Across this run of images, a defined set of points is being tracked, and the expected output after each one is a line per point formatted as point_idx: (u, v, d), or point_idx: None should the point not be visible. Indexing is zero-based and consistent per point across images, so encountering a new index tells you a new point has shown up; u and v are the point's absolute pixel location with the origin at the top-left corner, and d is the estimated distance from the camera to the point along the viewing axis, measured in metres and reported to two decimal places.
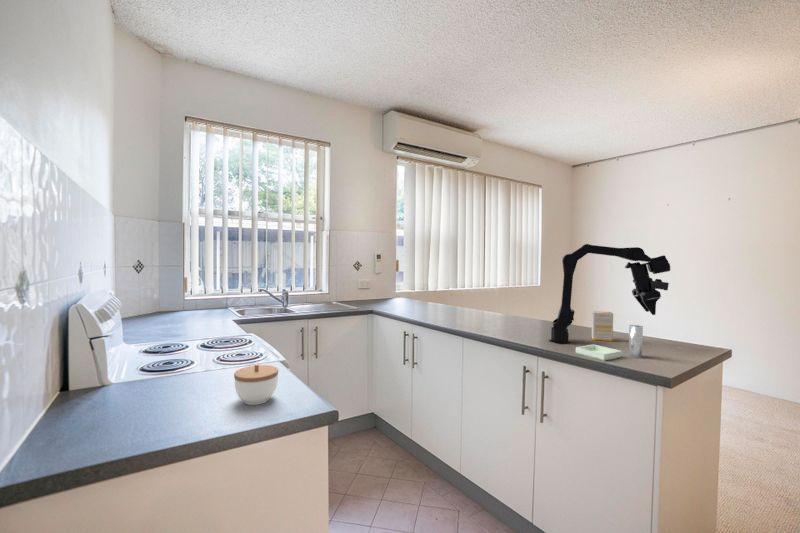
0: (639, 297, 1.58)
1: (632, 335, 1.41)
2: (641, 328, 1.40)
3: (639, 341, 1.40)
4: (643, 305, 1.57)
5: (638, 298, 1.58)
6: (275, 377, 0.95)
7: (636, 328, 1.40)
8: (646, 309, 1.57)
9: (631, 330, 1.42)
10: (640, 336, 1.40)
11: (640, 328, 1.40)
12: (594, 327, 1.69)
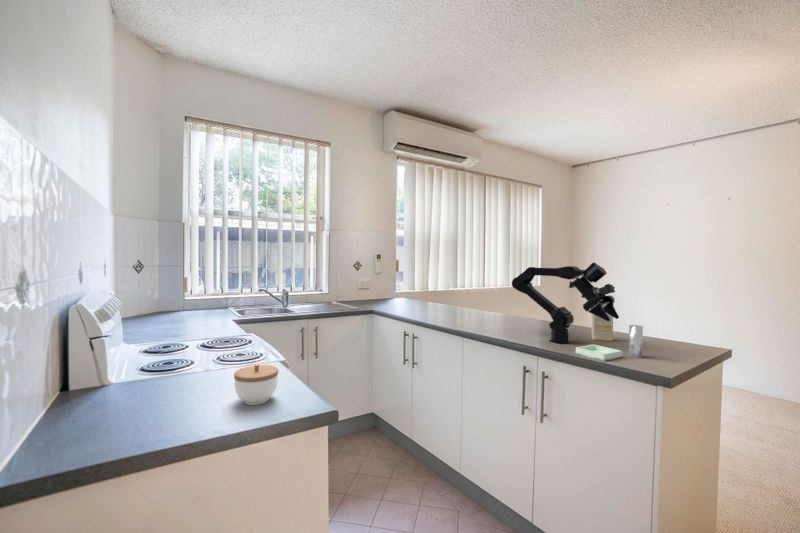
0: (604, 308, 1.56)
1: (632, 335, 1.41)
2: (641, 328, 1.40)
3: (639, 341, 1.40)
4: (611, 314, 1.53)
5: (604, 309, 1.56)
6: (275, 377, 0.95)
7: (636, 328, 1.40)
8: (615, 316, 1.52)
9: (631, 330, 1.42)
10: (640, 336, 1.40)
11: (640, 328, 1.40)
12: (594, 327, 1.69)
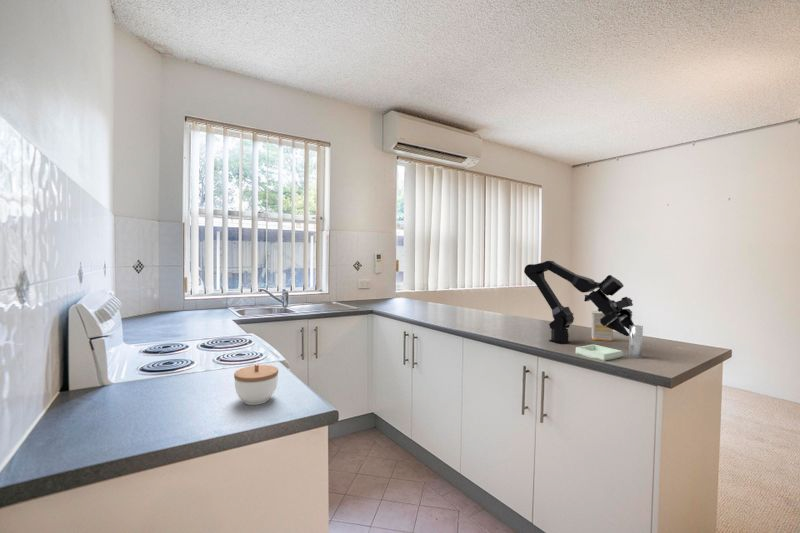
0: (621, 321, 1.50)
1: (632, 335, 1.41)
2: (641, 328, 1.40)
3: (639, 341, 1.40)
4: None
5: (621, 323, 1.50)
6: (275, 377, 0.95)
7: (636, 328, 1.40)
8: None
9: (631, 330, 1.42)
10: (640, 336, 1.40)
11: (640, 328, 1.40)
12: (594, 327, 1.69)
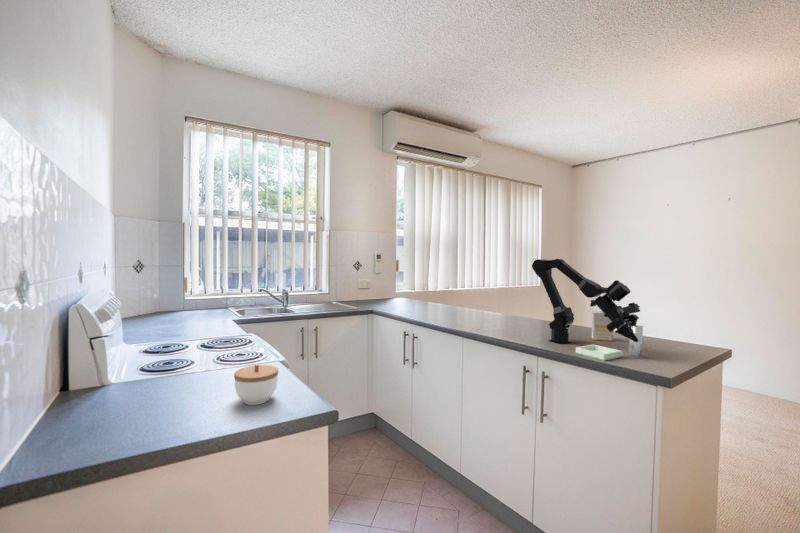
0: None
1: None
2: (641, 328, 1.40)
3: (639, 341, 1.40)
4: None
5: None
6: (275, 377, 0.95)
7: (636, 328, 1.40)
8: None
9: None
10: (640, 336, 1.40)
11: (640, 328, 1.40)
12: (594, 327, 1.69)
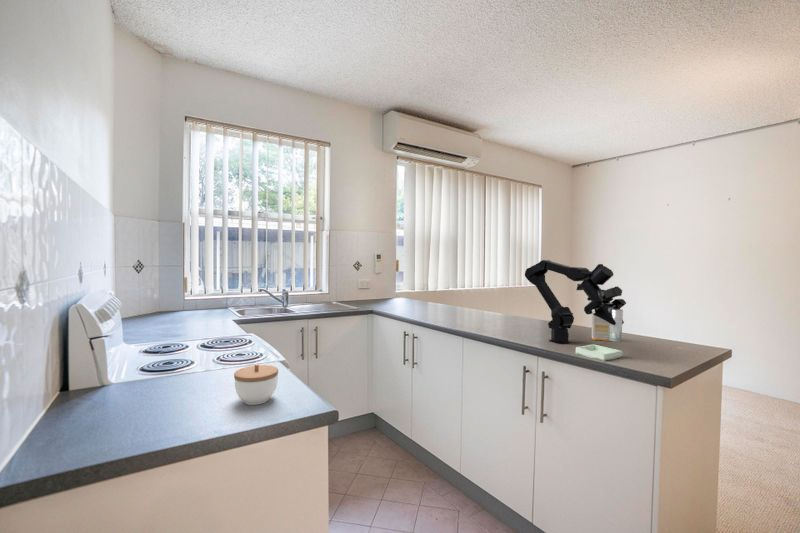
0: None
1: None
2: (620, 311, 1.40)
3: (618, 324, 1.40)
4: None
5: (609, 313, 1.47)
6: (275, 377, 0.95)
7: (614, 311, 1.40)
8: None
9: (610, 313, 1.42)
10: (619, 319, 1.40)
11: (619, 311, 1.39)
12: (594, 327, 1.69)
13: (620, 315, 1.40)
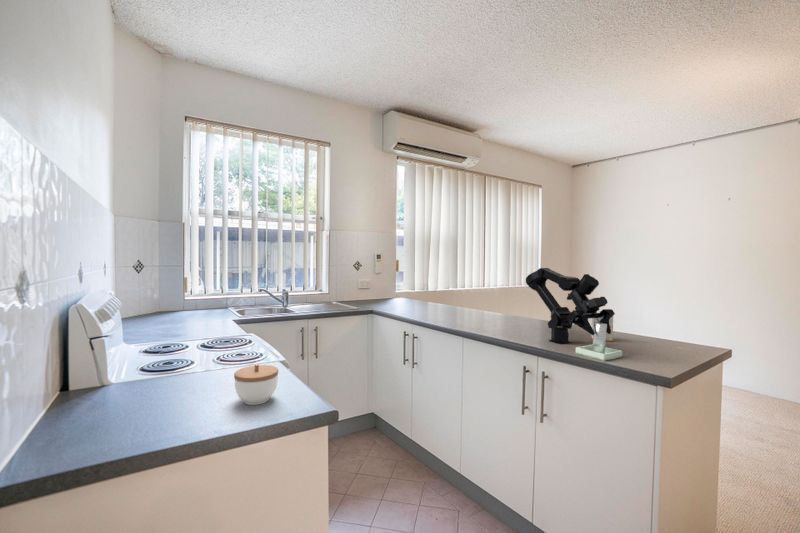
0: (600, 322, 1.48)
1: (594, 332, 1.43)
2: (603, 325, 1.41)
3: (600, 338, 1.41)
4: None
5: None
6: (275, 377, 0.95)
7: (597, 325, 1.42)
8: (607, 331, 1.44)
9: (594, 327, 1.43)
10: (601, 333, 1.41)
11: (601, 325, 1.41)
12: None
13: (603, 329, 1.41)
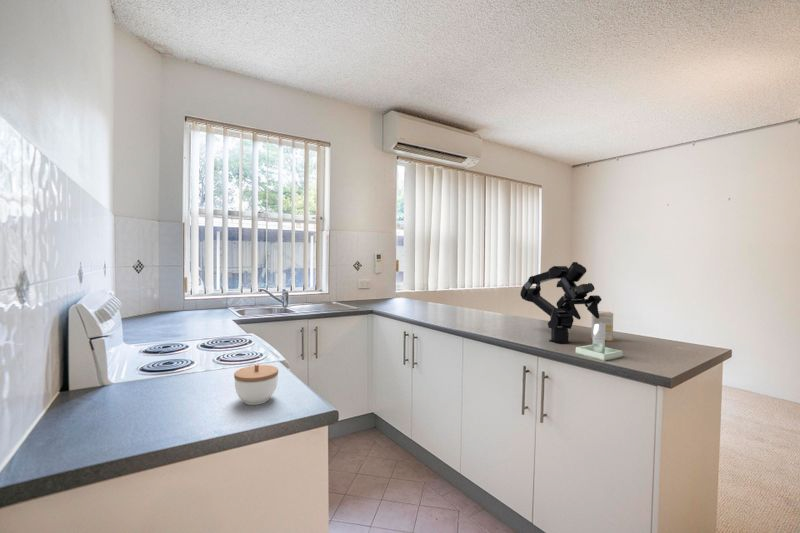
0: (589, 307, 1.55)
1: (593, 332, 1.43)
2: (601, 325, 1.41)
3: (599, 338, 1.41)
4: (593, 313, 1.52)
5: (588, 309, 1.55)
6: (275, 377, 0.95)
7: (596, 325, 1.42)
8: (596, 316, 1.50)
9: (593, 327, 1.44)
10: (600, 333, 1.41)
11: (600, 325, 1.41)
12: None
13: (602, 329, 1.41)
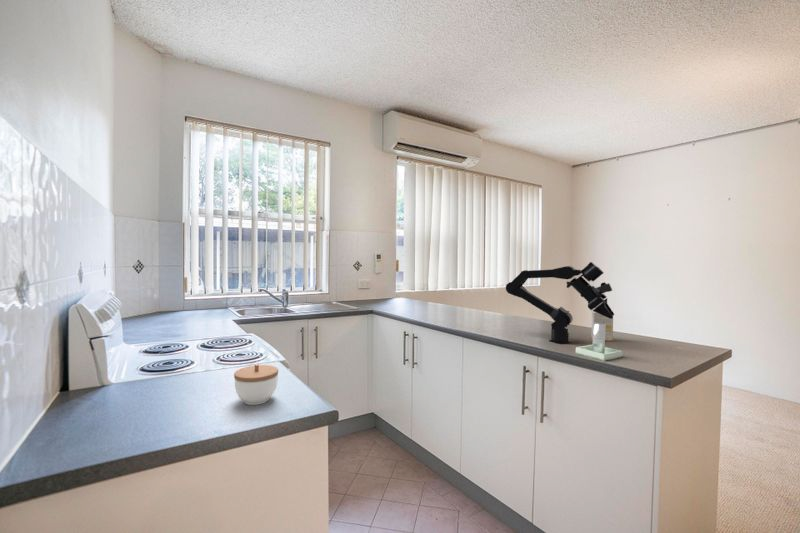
0: None
1: (593, 332, 1.43)
2: (601, 325, 1.41)
3: (599, 338, 1.41)
4: None
5: None
6: (275, 377, 0.95)
7: (596, 325, 1.42)
8: (611, 313, 1.58)
9: (593, 327, 1.44)
10: (600, 333, 1.41)
11: (600, 325, 1.41)
12: None
13: (602, 329, 1.41)
